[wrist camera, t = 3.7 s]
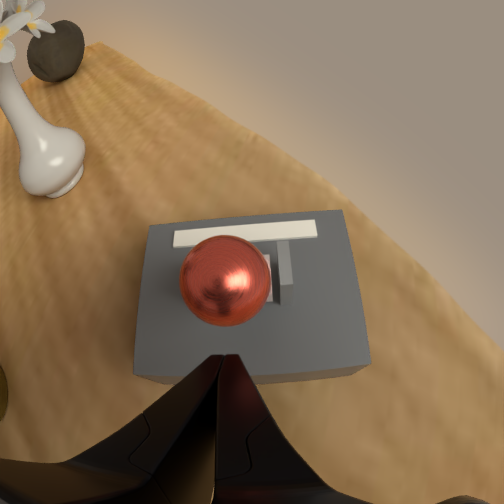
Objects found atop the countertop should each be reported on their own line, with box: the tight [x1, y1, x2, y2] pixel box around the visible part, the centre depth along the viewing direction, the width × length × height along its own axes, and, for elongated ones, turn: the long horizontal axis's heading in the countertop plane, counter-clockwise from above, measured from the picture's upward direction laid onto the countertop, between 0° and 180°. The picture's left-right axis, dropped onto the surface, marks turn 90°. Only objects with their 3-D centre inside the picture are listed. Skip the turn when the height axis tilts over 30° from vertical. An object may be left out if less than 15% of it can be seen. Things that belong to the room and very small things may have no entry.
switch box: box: [133, 210, 371, 385], centre depth 18 cm, size 10×13×8 cm
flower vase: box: [0, 0, 86, 198], centre depth 21 cm, size 13×18×25 cm
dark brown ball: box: [27, 20, 85, 82], centre depth 46 cm, size 14×14×15 cm
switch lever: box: [179, 235, 273, 327], centre depth 13 cm, size 3×3×8 cm
